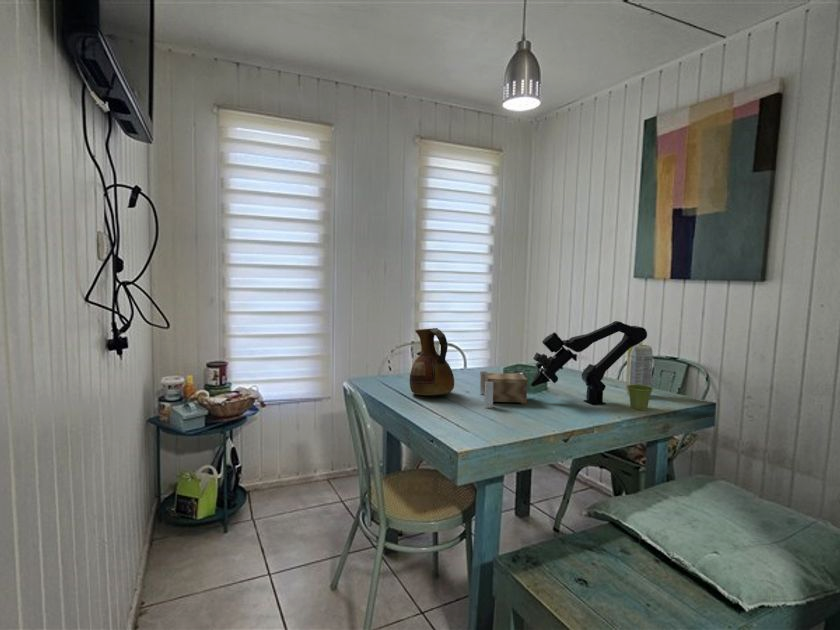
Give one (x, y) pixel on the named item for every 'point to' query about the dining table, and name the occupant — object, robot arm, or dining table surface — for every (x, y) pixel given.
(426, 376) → the ceramic pitcher
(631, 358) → the juice carton
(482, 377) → the post
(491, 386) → the post
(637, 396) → the plant pot
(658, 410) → the dining table surface
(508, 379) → the wood grain box
